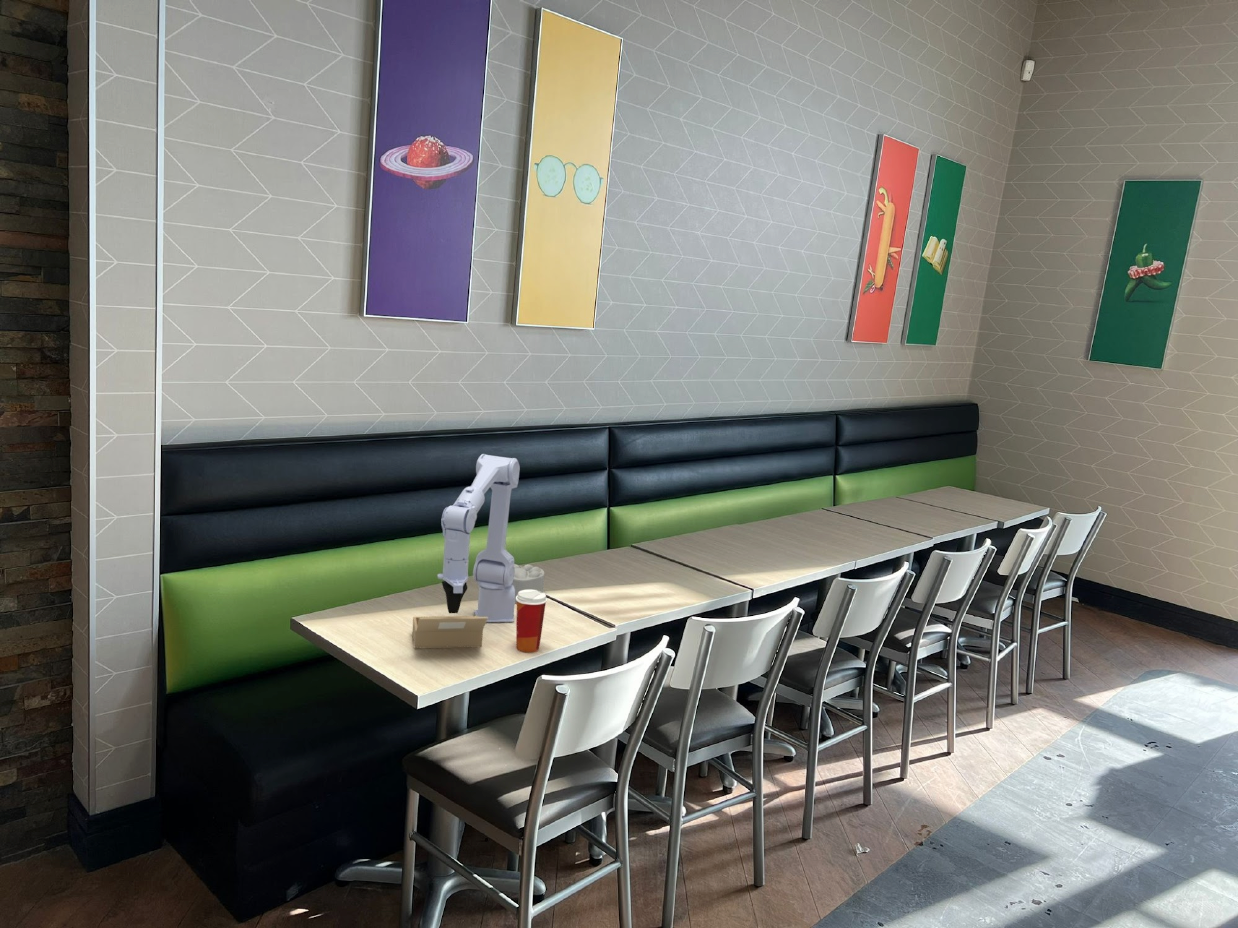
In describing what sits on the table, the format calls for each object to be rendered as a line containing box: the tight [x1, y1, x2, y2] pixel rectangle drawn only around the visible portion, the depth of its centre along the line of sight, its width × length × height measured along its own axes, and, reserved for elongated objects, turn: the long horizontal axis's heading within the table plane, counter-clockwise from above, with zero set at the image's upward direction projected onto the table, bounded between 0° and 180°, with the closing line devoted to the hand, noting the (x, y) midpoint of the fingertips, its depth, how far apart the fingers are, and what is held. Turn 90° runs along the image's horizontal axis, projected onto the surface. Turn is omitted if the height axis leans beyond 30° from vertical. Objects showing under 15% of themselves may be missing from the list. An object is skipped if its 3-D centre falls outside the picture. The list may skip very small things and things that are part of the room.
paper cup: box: [515, 590, 548, 654], centre depth 223 cm, size 8×8×14 cm
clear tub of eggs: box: [511, 563, 546, 605], centre depth 260 cm, size 10×13×9 cm
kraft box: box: [411, 615, 484, 649], centre depth 224 cm, size 16×9×4 cm, turn 106°
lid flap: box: [416, 616, 488, 632], centre depth 215 cm, size 16×9×1 cm
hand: (452, 612), depth 215 cm, fingers closed
